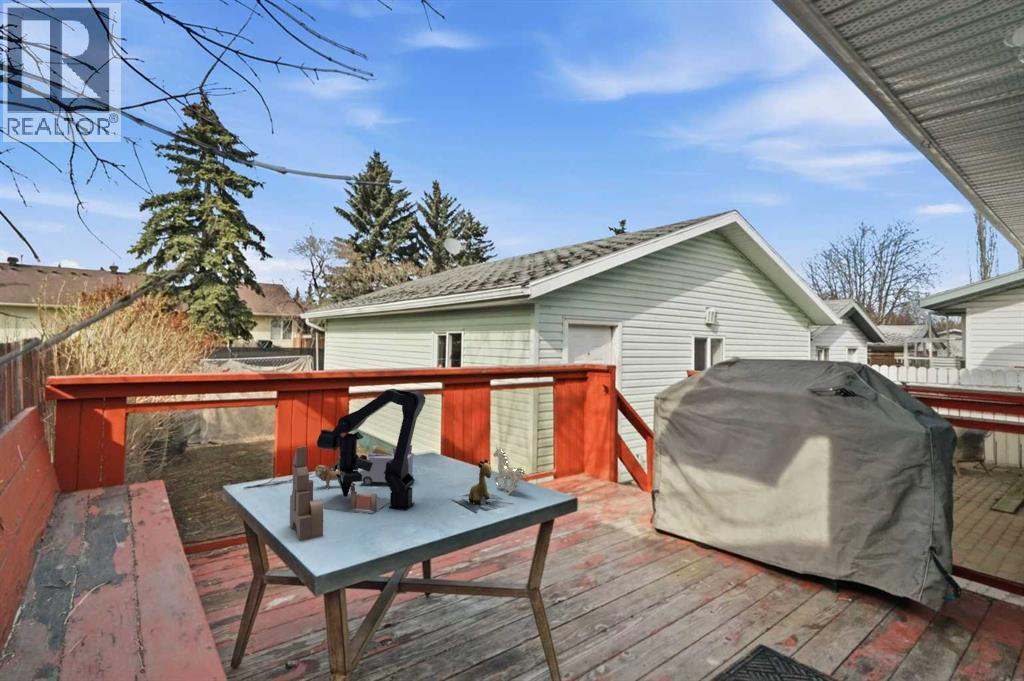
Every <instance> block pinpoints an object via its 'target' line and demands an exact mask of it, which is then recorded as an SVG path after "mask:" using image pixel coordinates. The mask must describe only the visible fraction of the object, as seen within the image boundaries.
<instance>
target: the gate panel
mask: <svg viewBox="0 0 1024 681" xmlns="http://www.w3.org/2000/svg"><path fill="white" fill-rule="evenodd" d="M351 492H357V491H356V485H352V484H351V488H350V493H351Z"/></svg>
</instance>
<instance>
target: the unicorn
mask: <svg viewBox="0 0 1024 681" xmlns="http://www.w3.org/2000/svg"><path fill="white" fill-rule="evenodd" d="M495 449H496V450H495V452H493V457H494V458H496V457H497V461H498V462H497V470H498V475H495V476H494V477H493V479H494V483H495V484H496V487H498V488H502V487H503V485H504V488H505V489H506V491H507V495H509V496H510V495H511V494H512V493H513V492H514V491H515V489H516V488H518V487H519V481H520V478H524V479H526V478H527V474H526V471H525V470H524V468H523V467H510V465H509V463H510V461H509V458H508V455H507V454H506V451H504V449H502V448H501V446H500V447H499V448H498V445H497V444H495ZM501 478H503V479H502V480H503V485H502V484H500V482H499V479H501ZM508 480H509V481H510V487H509V485H508Z"/></svg>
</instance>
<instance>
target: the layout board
mask: <svg viewBox="0 0 1024 681" xmlns="http://www.w3.org/2000/svg"><path fill="white" fill-rule="evenodd" d="M387 504H388V505H389V504H390V497H378V496H377V510H376V511H377V512H379V511H380V510H382V509H383V508H385V507H386V506H388V505H387ZM385 505H386V506H385ZM322 506H323V508H327V509H326V510H331V509H336V510H335V511H340V510H342V511H343V512H348V511H353V512H352V513H357V512H362V513H361V514H366V513H370V514H369V515H374V514H375V513H376V511H371V509H361V508H356V509H351V493H348V496H346V497H344V495H343V493H341V494H339V495H337V496H335V497H333V498H331V499H329V500H328V501H326V502H322ZM384 506H385V507H384ZM382 507H383V508H382ZM381 508H382V509H381ZM379 509H380V510H379ZM378 510H379V511H378ZM373 513H374V514H373Z"/></svg>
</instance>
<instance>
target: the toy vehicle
mask: <svg viewBox="0 0 1024 681" xmlns="http://www.w3.org/2000/svg"><path fill="white" fill-rule="evenodd" d="M371 450H372V451H371V452H372V454H371V453H368V455H367V456H368V457H367V458H369V459H368V460H370V461H371V462H372V463H373V465H372V467H371V470H370V472H368V471H366V470H363V469H360V471H359V473H360V474H361V475H362V481H361V482H363V484H364V486H366V485H370V486H372V484H373V483H375V482H376V483H381V482H382V483H387V482H386V480H385V474H384V472H385V470H386V463H387V462H388V461H390V460H392V459H393V458H394V455H395V451H396V447H395V448H392V452H393V453H390V452H389V451H387V450H386V449H384V448H383V447H381V446H380V445H373V447H372V449H371ZM412 450H413V444H411V445H410V449H409V453H408V464H409V469H408V473H409V474H410V475H411V476H412V477H413V478H414V474H413V469H414V468H413V462H414V461H413V457H414V455H413V453H412Z"/></svg>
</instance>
